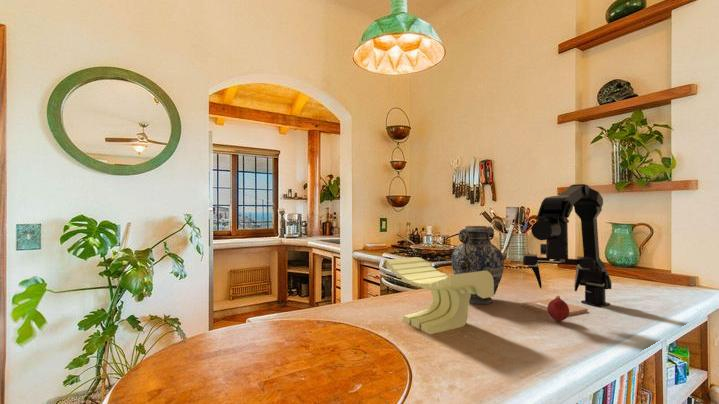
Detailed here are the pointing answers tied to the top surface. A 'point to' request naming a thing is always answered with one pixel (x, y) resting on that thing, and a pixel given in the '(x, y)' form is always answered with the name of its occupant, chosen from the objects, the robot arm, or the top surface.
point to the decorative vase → (478, 257)
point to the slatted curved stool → (441, 293)
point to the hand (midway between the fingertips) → (557, 289)
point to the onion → (558, 309)
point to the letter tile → (543, 304)
